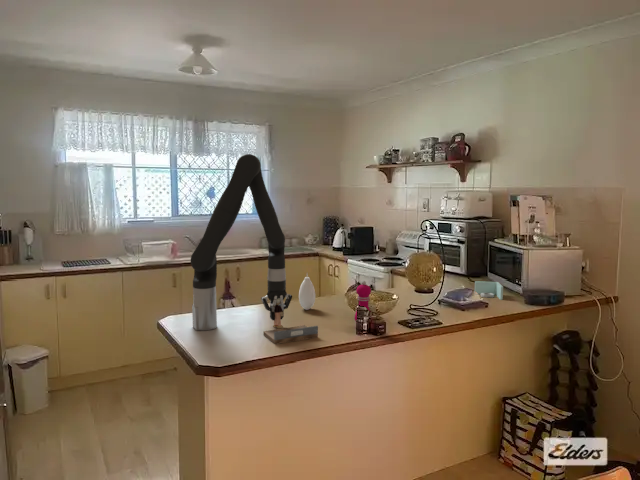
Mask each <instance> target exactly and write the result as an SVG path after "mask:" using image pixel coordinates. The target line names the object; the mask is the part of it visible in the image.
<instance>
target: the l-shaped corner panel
mask: <svg viewBox="0 0 640 480" xmlns="http://www.w3.org/2000/svg"><path fill="white" fill-rule="evenodd" d="M475 291H476V292H477V293H478V294H477V295H480V297H481V298H486V299H488V298H489V299H491V298H494V297H495V296H497V298H498V299H499V300H501V301H503V299H504V298H503V297H504V285H502V284H501V283H500V282H499V281H484V280H483V281H478V280H475V281H474V292H475Z"/></svg>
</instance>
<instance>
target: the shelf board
mask: <svg viewBox="0 0 640 480" xmlns="http://www.w3.org/2000/svg"><path fill="white" fill-rule="evenodd" d="M305 327H308V326H306V325H305V324H304V325H299V326H291V327H283V328H277V329H276V328H275V329H271V330H270V329H268V330H263V333H262V334H263V336H264V337H265V338H266V339H268V340H269V341H271V343H272V344H273V345H279V344H283V343H290V342H297V341H303V340H309V339H315V338H318V337H319V333H318V334H312V335H305V336H299V337H292V338H286V339H279V340H274V332H277V331H284V330H291V329H298V328H305Z"/></svg>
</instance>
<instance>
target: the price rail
mask: <svg viewBox="0 0 640 480" xmlns="http://www.w3.org/2000/svg"><path fill="white" fill-rule="evenodd" d="M312 334H318V335H319V325H313V326H307V327H305V328H298V329H291V330H284V331H277V332H274V340H279V339H286V338H292V337H299V336H305V335H312Z"/></svg>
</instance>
